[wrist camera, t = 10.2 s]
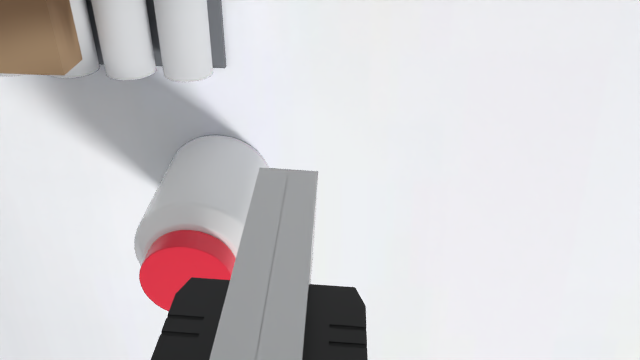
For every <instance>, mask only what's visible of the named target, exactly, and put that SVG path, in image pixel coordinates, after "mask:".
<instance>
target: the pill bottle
mask: <svg viewBox="0 0 640 360" xmlns="http://www.w3.org/2000/svg"><path fill="white" fill-rule="evenodd" d="M260 167H261V168H269V166H268V164H267V162H266V161H265V159H264V158H263V157H262V156H261V155H260V153H259V152H257V151H256V150H255V149H254V148H253V147H251V146H250V145H248V144H246V143H245V142H243V141H241V140H238V139H235V138H232V137H228V136H222V135H209V136H203V137H199V138H196V139H194V140H191V141H189V142H188V143H186V144H185V145H183V146H182V147H181V148H180V149H179V150H178V151H177V152H176V154H175V156H174V157H173V159H172V161H171V163H170V165H169V167H168V169H167V171H166V173H165V175H164V177H163V179H162V180H161V182H160V184H159V186H158V188H157V190H156V192H155V194H154V196H153V198H152V200H151V202H150V204H149V206H148V208H147V210H146V212H145V214H144V216H143V218H142V220H141V222H140V224H139V226H138V228H137V231H136V234H135V239H134V249H135V253H136V257H137V259H138V261H139V263H140V265H141V269H140V274H139V279H140V283H141V287H142V288H143V290H144V292H145V294H146V295H147V296H148V297H149V299H151V300H152V301H153V302H154V303H155V304H156V305H158V306H160V307H161V308H163V309H165V310H167V311H169V310H170V307H171V304H172V302H173V299H174V296H175V294H176V293H177V292H178V291H179V290H180V289H181V288H182V287H183V286H184V285H185V284H186V282H187V281H188V280H189V279H190V278H191V277H194V278H208V279H222V280H230V279H231V275H232V271H233V267H234V263H235V260H236V256H237V252H238V248H239V244H240V240H241V237H242V233H243V229H244V225H245V221H246V217H247V214H248V210H249V206H250V202H251V198H252V195H253V191H254V187H255V183H256V179H257V175H258V172H259V168H260Z"/></svg>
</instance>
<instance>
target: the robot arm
mask: <svg viewBox="0 0 640 360" xmlns="http://www.w3.org/2000/svg"><path fill="white" fill-rule="evenodd" d="M317 181H318V171H304V170H290V169H275V168H261V167H260V168H259V172H258V175H257V179H256V183H255V187H254V191H253V195H252V198H251V202H250V206H249V210H248V214H247V217H246V221H245V225H244V229H243V233H242V237H241V240H240V244H239V248H238V252H237V256H236V260H235V263H234V267H233V271H232V275H231V279H230V280H222V279H208V278H194V277H191V278H190V279H189V280H188V281H187V282H186V284H185V285H184V286H183V287H182V288H181V289H180V290H179V291H178V292H177V293H176V294H175V296H174V299H173V302H172V304H171V307H170V310H169V312H168V318H166V321H165V323H164V326H163V329H162V334H161V335H160V337H159V339H158V342H157V345H156V347H155V350H154V353H153V356H152V358H151V360H367V336H366V308H365V304H364V303H363V301H362V299H361V297H360V295H359V294H358V292H357V290H356V288H355V287H341V286H327V285H313V284H311V272H312V260H313V246H314V229H315V213H316V197H317Z"/></svg>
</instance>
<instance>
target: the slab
mask: <svg viewBox="0 0 640 360" xmlns="http://www.w3.org/2000/svg"><path fill="white" fill-rule="evenodd" d="M81 60H83V59H82V54H81V50H80V45H79V41H78V37H77V32H76V28H75V23H74V19H73V14H72V10H71V5H70V1H69V0H0V73H4V74H35V75H65V74H67V73H68V72H69V71H70V70H71V69H72V68H73V67H75V66H76V65H77V64H78V63H79V62H80V61H81Z"/></svg>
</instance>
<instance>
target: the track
mask: <svg viewBox="0 0 640 360" xmlns="http://www.w3.org/2000/svg"><path fill="white" fill-rule="evenodd" d="M69 1H70V5H71V10H72V14H73V19H74V23H75V28H76V32H77V37H78V41H79V45H80V50H81V54H82V59H83V60H81V61H80V62H79V63H78V64H77V65H76V66H75V67H73V68H72V69H71V70H70V71H69V72H68V73H67V74H65V75H50V76H53V77H56V78H77V77H82V76H86V75H90V74H92V73H94V72H96V71H97V70H98V69H99V67H100V66H99V64H104V67H105V71H106V75H107V76H108V77H110V78H112V79H116V80H135V79H141V78H145V77H148V76H150V75H152V74H153V73H155V71H156V66H163V72H164V76H165V77H166V78H167V79H169V80H172V81H176V82H194V81H199V80H203V79H206V78H208V77H210V76H211V75H212V74H213V68H225V67H226V58H225V45H224V31H223V18H222V5H221V0H69ZM19 75H24V74H4V73H0V76H19Z"/></svg>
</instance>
